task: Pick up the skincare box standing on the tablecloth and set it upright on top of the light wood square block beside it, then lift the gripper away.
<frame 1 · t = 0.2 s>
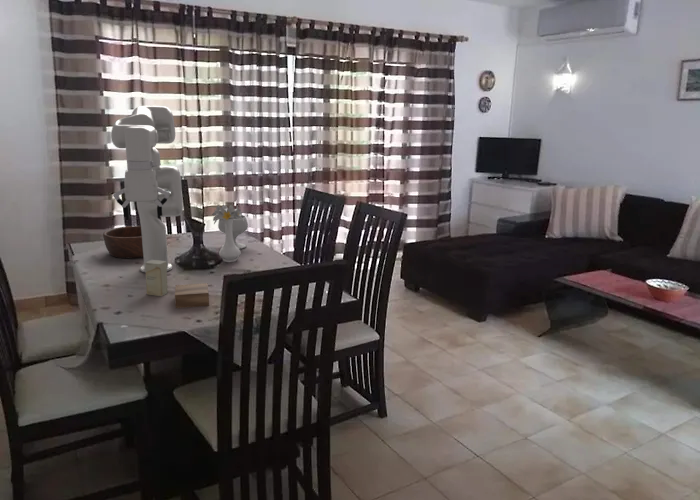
hand: (143, 218, 182), 30 cm above the table, tool pointing down, fingers open, 9 cm apart
light wood square block: (192, 302, 194), on the table
wooden bowl: (134, 253, 255), on the table
chalice: (233, 247, 268), on the table
skincare box: (157, 294, 201), on the table
flower vase: (228, 260, 246), on the table
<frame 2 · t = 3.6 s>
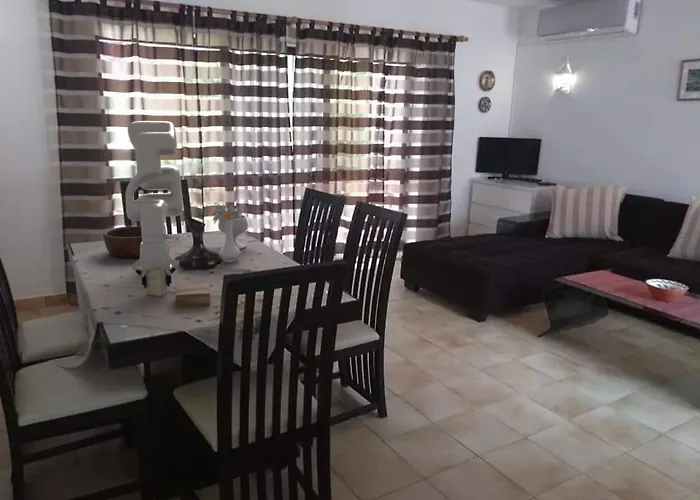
hand: (157, 285, 200), 3 cm above the table, tool pointing down, fingers closed on skincare box, 7 cm apart
skincare box: (157, 294, 201), on the table, touching gripper
everything else where it was.
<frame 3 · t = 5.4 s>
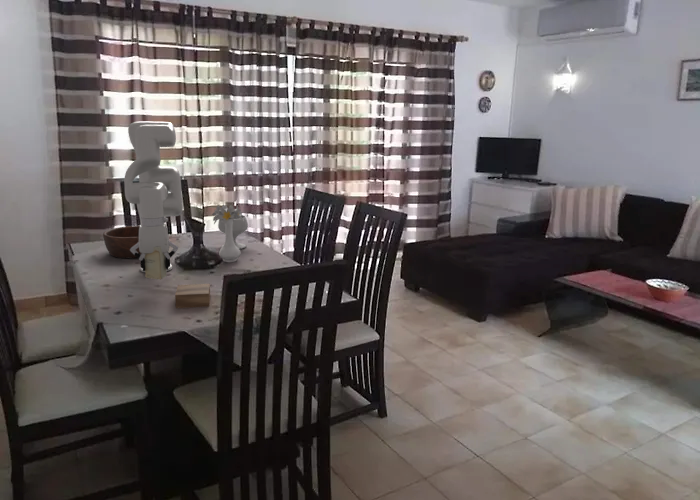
hand: (155, 269, 200), 9 cm above the table, tool pointing down, fingers closed on skincare box, 7 cm apart
skincare box: (156, 277, 201), point 6 cm above the table, touching gripper
everything else where it was.
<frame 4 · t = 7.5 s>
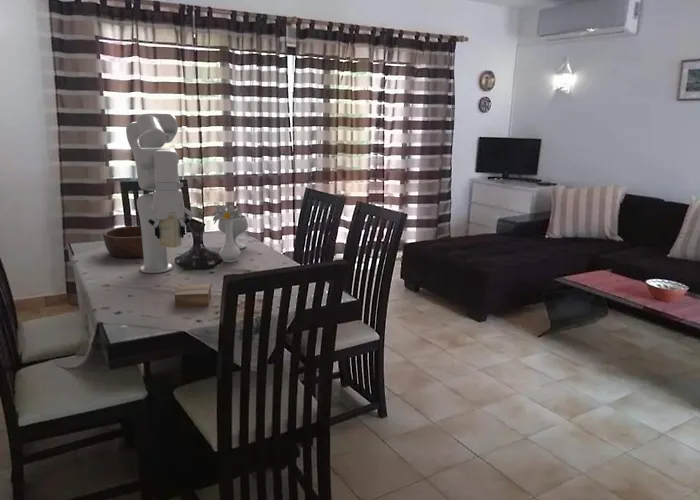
hand: (170, 237, 192), 22 cm above the table, tool pointing down, fingers closed on skincare box, 7 cm apart
skincare box: (171, 246, 193), point 19 cm above the table, touching gripper
everything else where it was.
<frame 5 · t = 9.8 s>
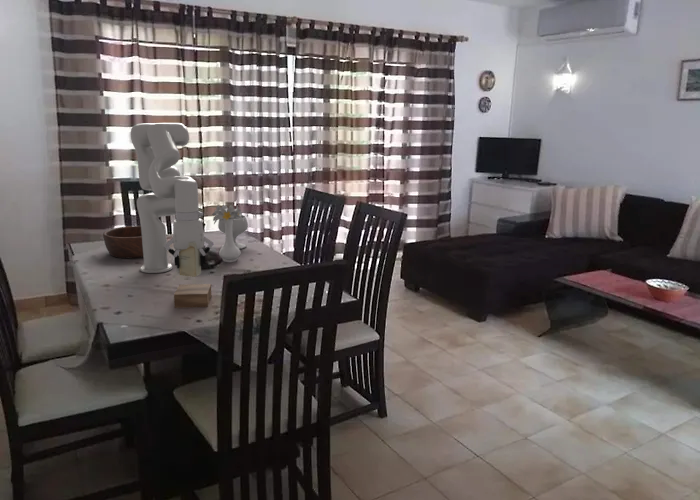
hand: (190, 266, 191), 13 cm above the table, tool pointing down, fingers closed on skincare box, 7 cm apart
skincare box: (190, 275, 192), point 10 cm above the table, touching gripper
everything else where it was.
when the fingers open (9 cm above the table, at t = 11.6 s): skincare box drops 1 cm, resting on light wood square block.
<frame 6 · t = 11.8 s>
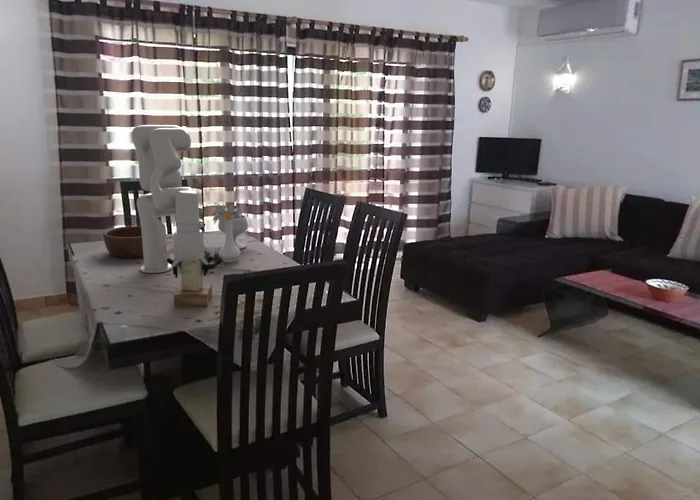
hand: (190, 275, 192), 9 cm above the table, tool pointing down, fingers open, 9 cm apart
light wood square block: (194, 303, 194), on the table, touching skincare box
skincare box: (192, 289, 194), point 4 cm above the table, touching light wood square block
everything else where it was.
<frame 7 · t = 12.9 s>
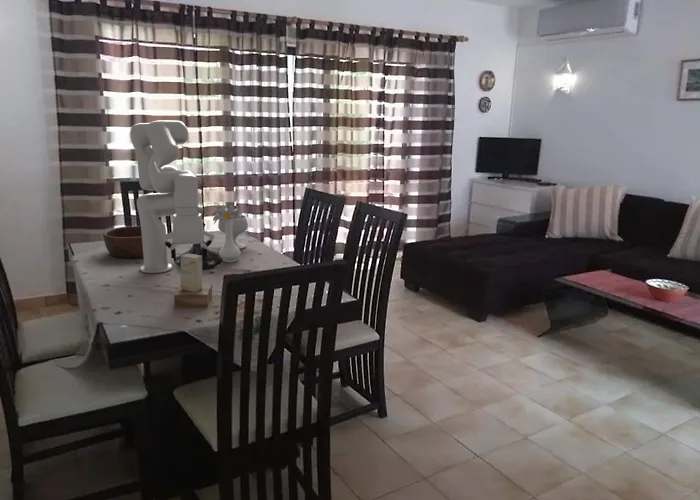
hand: (189, 259, 191), 15 cm above the table, tool pointing down, fingers open, 9 cm apart
light wood square block: (194, 303, 194), on the table
skincare box: (191, 289, 193), point 4 cm above the table
everything else where it was.
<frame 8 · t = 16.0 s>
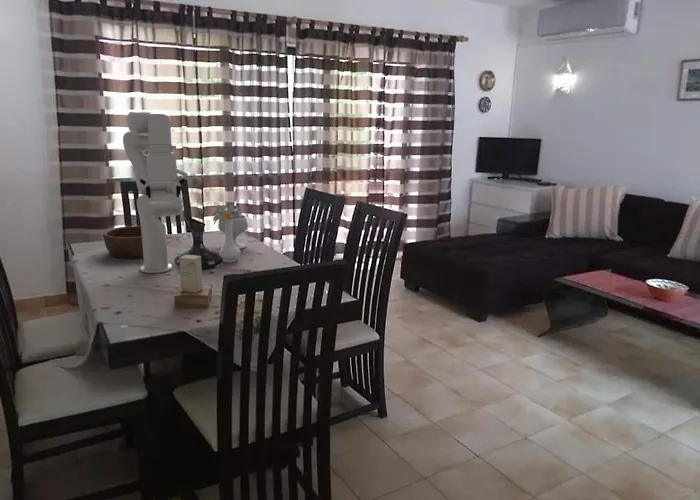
hand: (163, 197, 199), 34 cm above the table, tool pointing down, fingers open, 9 cm apart
light wood square block: (194, 304, 193), on the table, touching skincare box
skincare box: (192, 290, 192), point 4 cm above the table, touching light wood square block
everything else where it was.
at the end: skincare box inside the target area on the light wood square block (0.4 cm from its centre), point 4.9 cm above the light wood square block's base; skincare box tilted 2°; the gripper is holding nothing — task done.
